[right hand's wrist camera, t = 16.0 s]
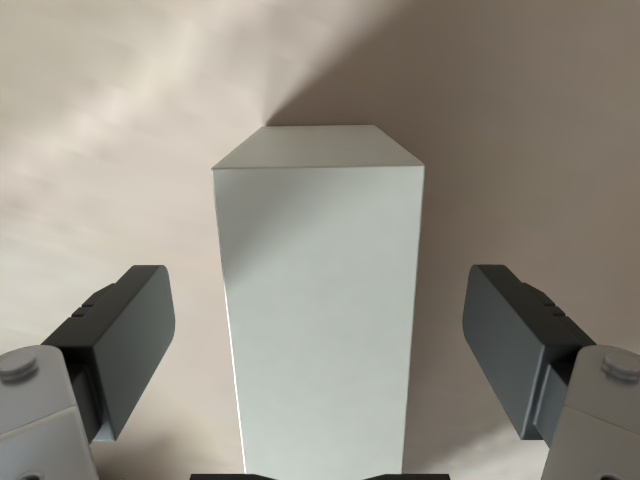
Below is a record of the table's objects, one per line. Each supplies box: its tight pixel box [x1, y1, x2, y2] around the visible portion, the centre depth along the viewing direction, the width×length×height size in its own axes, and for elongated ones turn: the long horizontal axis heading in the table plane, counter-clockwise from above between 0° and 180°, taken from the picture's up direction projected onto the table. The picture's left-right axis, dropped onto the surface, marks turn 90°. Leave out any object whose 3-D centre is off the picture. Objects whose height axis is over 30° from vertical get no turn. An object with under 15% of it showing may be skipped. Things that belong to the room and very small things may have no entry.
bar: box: [211, 125, 425, 480], centre depth 19 cm, size 25×5×10 cm, turn 1°
